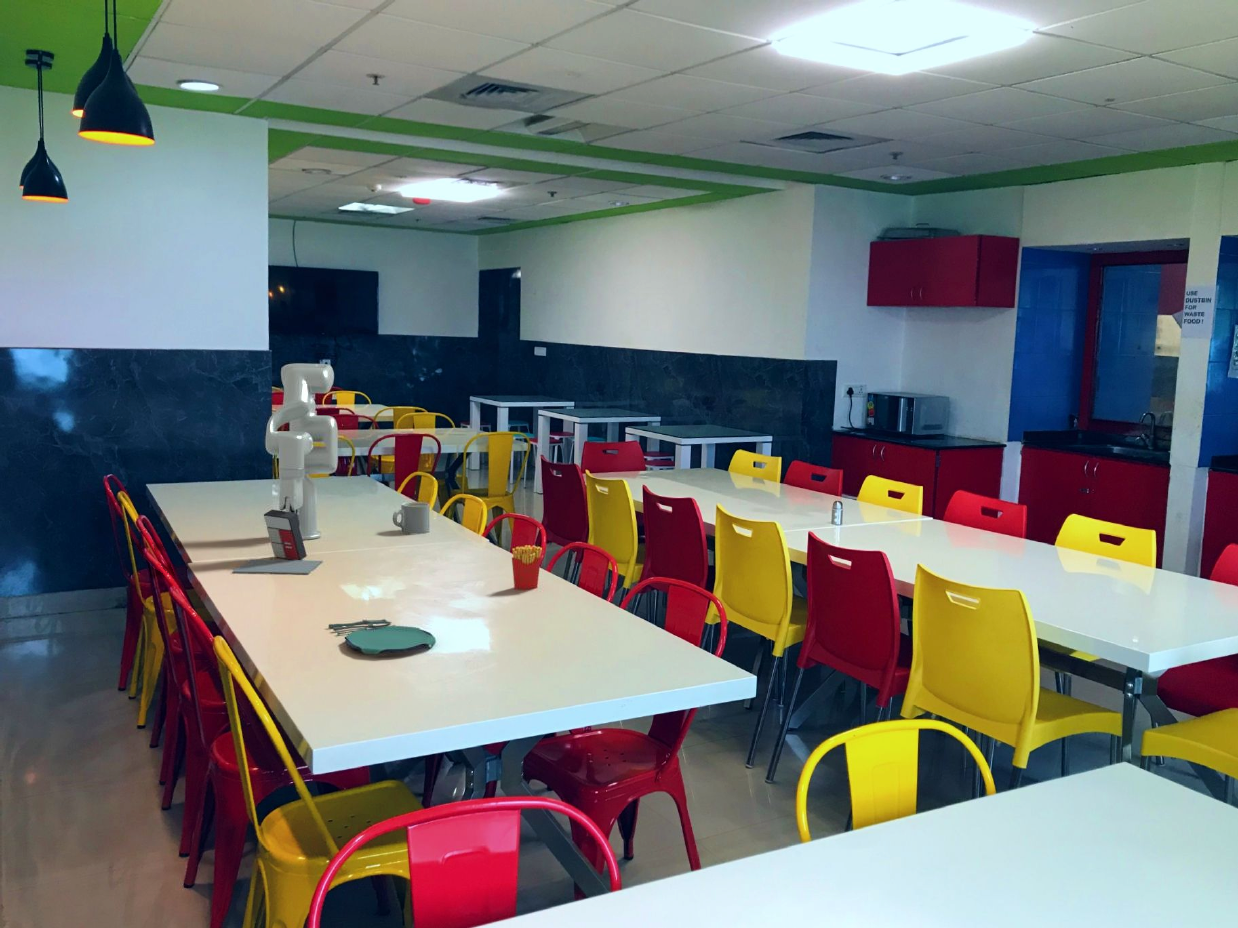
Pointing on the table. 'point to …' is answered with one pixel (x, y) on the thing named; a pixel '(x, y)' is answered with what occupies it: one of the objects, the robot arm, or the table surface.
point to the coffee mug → (413, 517)
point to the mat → (278, 566)
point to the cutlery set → (384, 637)
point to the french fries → (526, 566)
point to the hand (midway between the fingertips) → (292, 531)
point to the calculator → (285, 534)
